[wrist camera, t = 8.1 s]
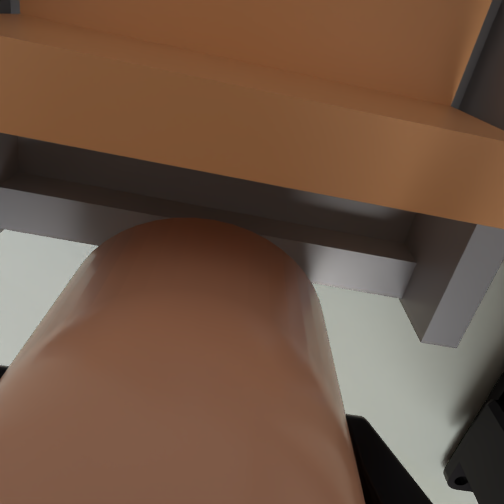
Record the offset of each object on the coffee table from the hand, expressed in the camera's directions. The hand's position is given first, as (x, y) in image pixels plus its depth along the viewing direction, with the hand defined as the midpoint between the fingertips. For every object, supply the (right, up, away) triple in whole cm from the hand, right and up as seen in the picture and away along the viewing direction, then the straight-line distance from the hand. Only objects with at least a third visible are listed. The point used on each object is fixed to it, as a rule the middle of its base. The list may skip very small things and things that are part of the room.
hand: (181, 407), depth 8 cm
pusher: (+1, +8, +1) cm, 8 cm away
